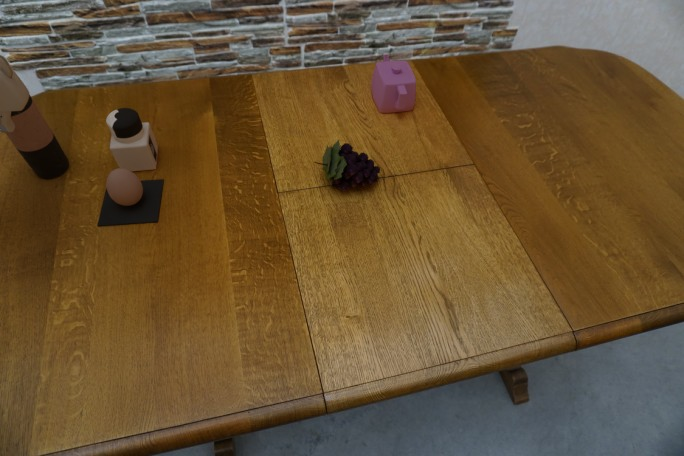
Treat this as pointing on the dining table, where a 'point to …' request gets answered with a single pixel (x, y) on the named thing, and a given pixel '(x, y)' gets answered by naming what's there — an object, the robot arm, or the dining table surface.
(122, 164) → the container
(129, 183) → the egg
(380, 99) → the teapot
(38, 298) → the dining table surface
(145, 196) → the mat
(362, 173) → the fruit
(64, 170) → the travel mug
